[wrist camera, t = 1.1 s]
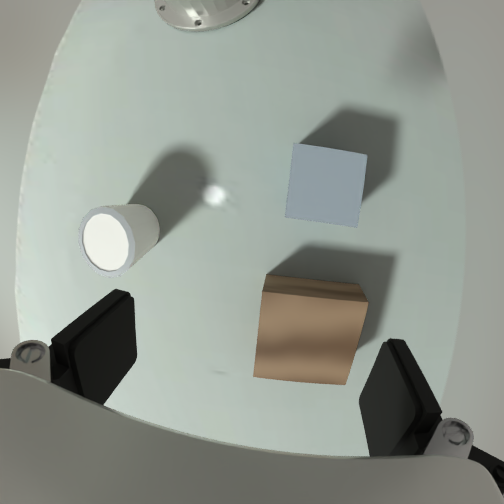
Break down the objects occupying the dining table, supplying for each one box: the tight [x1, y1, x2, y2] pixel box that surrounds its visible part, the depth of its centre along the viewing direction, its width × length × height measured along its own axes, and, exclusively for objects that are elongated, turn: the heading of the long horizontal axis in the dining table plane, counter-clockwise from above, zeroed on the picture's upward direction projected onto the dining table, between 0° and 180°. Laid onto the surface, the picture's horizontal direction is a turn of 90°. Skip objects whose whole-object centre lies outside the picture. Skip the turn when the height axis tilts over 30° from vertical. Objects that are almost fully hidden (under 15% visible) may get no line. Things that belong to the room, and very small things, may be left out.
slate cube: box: [285, 143, 367, 228], centre depth 26 cm, size 6×6×6 cm
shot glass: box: [78, 204, 160, 278], centre depth 29 cm, size 7×7×7 cm
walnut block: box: [253, 274, 369, 385], centre depth 30 cm, size 10×10×5 cm
